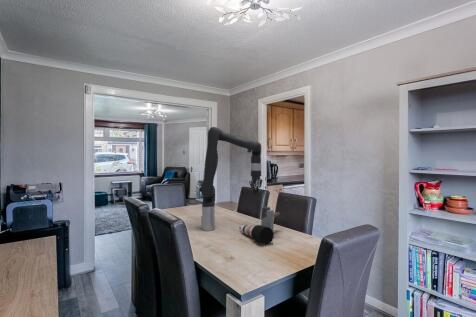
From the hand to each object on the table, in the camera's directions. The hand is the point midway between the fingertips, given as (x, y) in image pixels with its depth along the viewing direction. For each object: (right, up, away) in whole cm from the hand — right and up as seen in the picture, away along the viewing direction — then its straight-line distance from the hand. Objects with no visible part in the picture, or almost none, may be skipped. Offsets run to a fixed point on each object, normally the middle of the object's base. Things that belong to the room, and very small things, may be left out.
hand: (256, 193), depth 184 cm
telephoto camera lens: (-3, -28, -12) cm, 30 cm away
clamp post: (+7, -27, -11) cm, 30 cm away
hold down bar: (+10, -15, -5) cm, 19 cm away
